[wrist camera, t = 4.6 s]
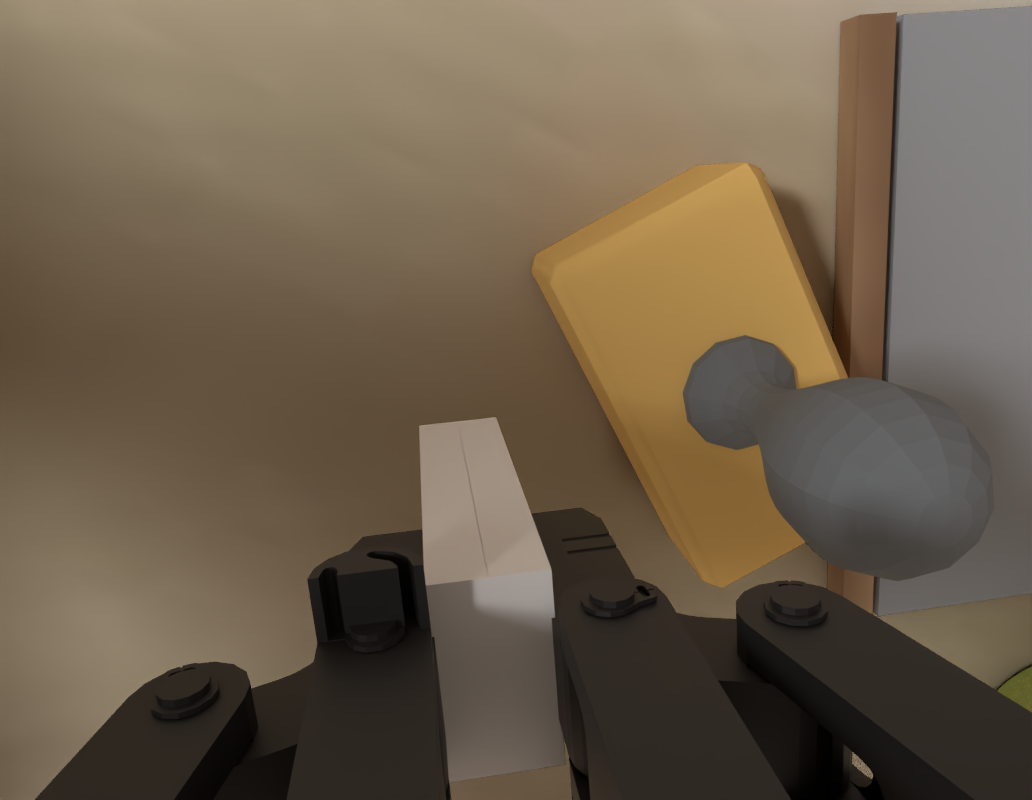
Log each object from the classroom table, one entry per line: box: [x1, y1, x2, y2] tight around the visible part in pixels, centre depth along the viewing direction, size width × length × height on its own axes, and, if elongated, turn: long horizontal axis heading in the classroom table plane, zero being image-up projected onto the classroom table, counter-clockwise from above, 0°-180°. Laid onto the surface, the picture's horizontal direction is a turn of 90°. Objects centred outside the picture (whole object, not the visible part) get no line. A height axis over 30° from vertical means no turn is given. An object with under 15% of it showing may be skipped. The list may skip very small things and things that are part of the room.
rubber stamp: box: [532, 163, 994, 588], centre depth 18 cm, size 10×6×12 cm, turn 28°
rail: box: [827, 12, 897, 614], centre depth 24 cm, size 1×18×1 cm, turn 5°
